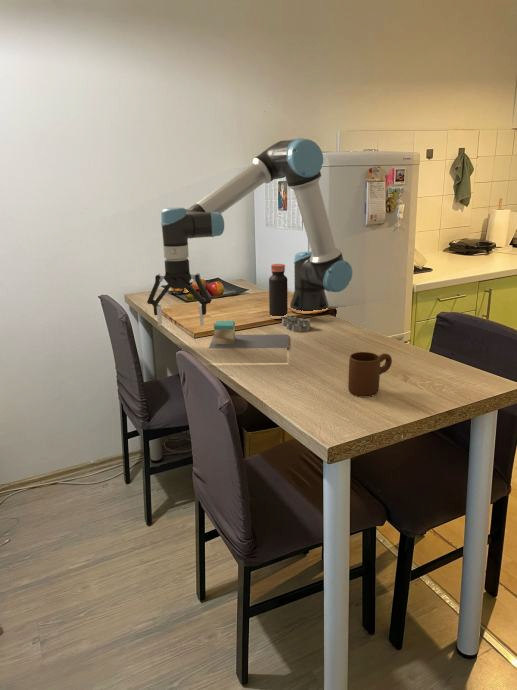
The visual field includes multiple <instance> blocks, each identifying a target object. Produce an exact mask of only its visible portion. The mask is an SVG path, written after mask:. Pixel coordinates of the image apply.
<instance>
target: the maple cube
mask: <svg viewBox="0 0 517 690" xmlns="http://www.w3.org/2000/svg"><path fill="white" fill-rule="evenodd" d="M235 323H236V322H235V320H216V321H215V323H214V326H213V329H214V330H213V333H214V334H213V336H214V335H215V344H234V341H235V335H236V331H235V330H236V324H235Z"/></svg>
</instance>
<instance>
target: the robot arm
mask: <svg viewBox="0 0 517 690" xmlns="http://www.w3.org/2000/svg"><path fill="white" fill-rule="evenodd" d="M323 164H324V154H323V151H322V148H321V147H320V146H319V145H318V144H317V143H316V142H315V141H314V140H312V139H308V138H301V137H300V138H295V139H286V140H285V139H283V140H279V141H278V142H276V143H274V144H273V145H271V146H269V147H268V148H266V149H265V150H264V151H262V152H261V153H259V154H258V155H257V156H255V157H254V158H253V159H252V161H251V164H250V165H248V166H247V167H245V168H244V169H243V170H241V171H239V172H238V173H237V174H235V175H233V177H231V178H230V179H229V180H227V181H225V182H224V183H223V184H221V185H220V186H218V187H217V188H216V189H214V190H213V191H212V192H210V193H209V194H207V195H206V196H205V197H203V198H201V199H200V200H198V202H196V203H194V204H193V205H192V206H190V207H188V208H185V207H166V208H163V209H162V210H161V219H160V220H161V223H160V224H161V233H162V243H163V258H164V259H165V260H164V272H165V273H164V274H160V273H158V274H155V278H154V279H155V280H154V281H155V282H154V285H153V287H152V288H151V292H150V293H149V297H148V299H147V301H146V303H147V304H148V305H151V306H153V315H154V316H156V317H157V326H158V327H161V326H162V325H163V316H162V304H161V303H160V302H161V301H162V299H163V298H164V296H165V295H166V294H167V293H168V290H169V289H170V287H171V288H173V289H177V288H179V289H183V288H186V289H187V290H188V291H189V293H190V294H191V295H192V296H193V297H194V298H195V299H196V300H197V301H198V303H200V304H199V306H198V307H199V308H198V309H199V326H200V327H201V326H204V324H205V321H204V316H205V315H207V305H208V304H210V303H211V302H212V297H211V295H210V294H209V292H208V291H207V289H206V287H205V285H204V283H203V281H202V279H201V275H200V273H198V272H197V273H196V274H191V273H190V260H189V258H190V257H189V256H190V255H189V242H188V241H189V239H200V238H210V237H211V238H215V237H220V236H222V235H223V233H224V231H225V220H224V217H223V215H222V214H223V213H224V212H226V211H227V210H228V209H229V208H231V207H232V206H234V205H235V204H236V203H238V202H240V200H242V199H243V198H245V197H246V196H248V195H249V194H251V193H253V191H255V190H256V189H257V188H258V187H260V186H262V185H263V184H269V183H271V182H272V181H274V180H276V179H279V178H282V177H285V182H286V184H287V187H288V188H289V189H292V190H293V192H294V195H295V198H296V202H297V206H298V209H299V213H300V216H301V219H302V223H303V224H302V225H303V226H304V230H305V233H306V237H307V240H308V244H309V248H310V250H311V251H302V252H297V253H296V254H294V262H293V264H294V291H293V294H292V298H291V301H290V304H289V308H290V307H291V308H293V309H296V310H301V311H302V310H303V311H313V310H322V309H326V308H328V307H329V306H330V305H329V301H328V298H327V295H326V292H325V291H327V292H330V293H331V292H332V293H339V292H341V291H343V290H345V289H346V288H347V287H348V286H349V285H350V282H351V280H352V279H353V278H352V277H353V268H352V265H351V264H350V263H349V262H348V261H347V260H344V256H343V253H342V250H341V249H340V248H339V247H337V246H336V244H335V239H334V235H333V233H332V229H331V225H330V221H329V217H328V214H327V209H326V206H325V202H324V199H323V195H322V192H321V187H320V184H319V182H320V179H321V177H322V173H321V172H322V171H321V170H322V167H323ZM163 280H164V281H165V282H166V286H165V287H164V288H163V290H162V291H161V293H160V294H159V295H158V296H157V298H156V299H155V296H156V294H157V291H158V290H159V286H160V284H161V283H162V282H163ZM191 280H193V282H195V284H196V285H197V287H198V289H199V291H200V292H201V294H200V293H199V292H198V291H197V290H196V288H194V286H193V285H192V283H191ZM189 281H190V283H189ZM167 283H168V284H167Z"/></svg>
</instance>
